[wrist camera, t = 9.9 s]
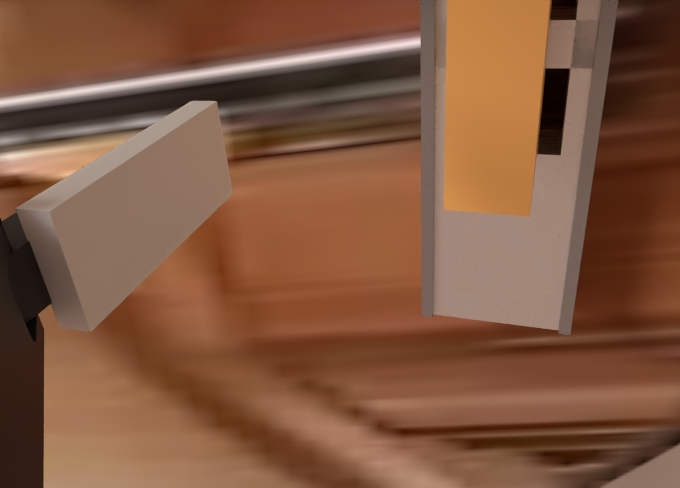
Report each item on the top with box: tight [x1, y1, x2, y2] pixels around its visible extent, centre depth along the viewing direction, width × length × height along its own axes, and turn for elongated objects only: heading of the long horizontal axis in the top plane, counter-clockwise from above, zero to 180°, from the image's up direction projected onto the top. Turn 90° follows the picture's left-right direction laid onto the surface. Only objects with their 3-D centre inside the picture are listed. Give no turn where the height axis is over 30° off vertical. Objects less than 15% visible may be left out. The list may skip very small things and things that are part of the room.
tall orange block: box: [444, 0, 552, 217], centre depth 25 cm, size 8×3×12 cm, turn 4°
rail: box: [421, 0, 618, 335], centre depth 28 cm, size 30×8×4 cm, turn 4°
